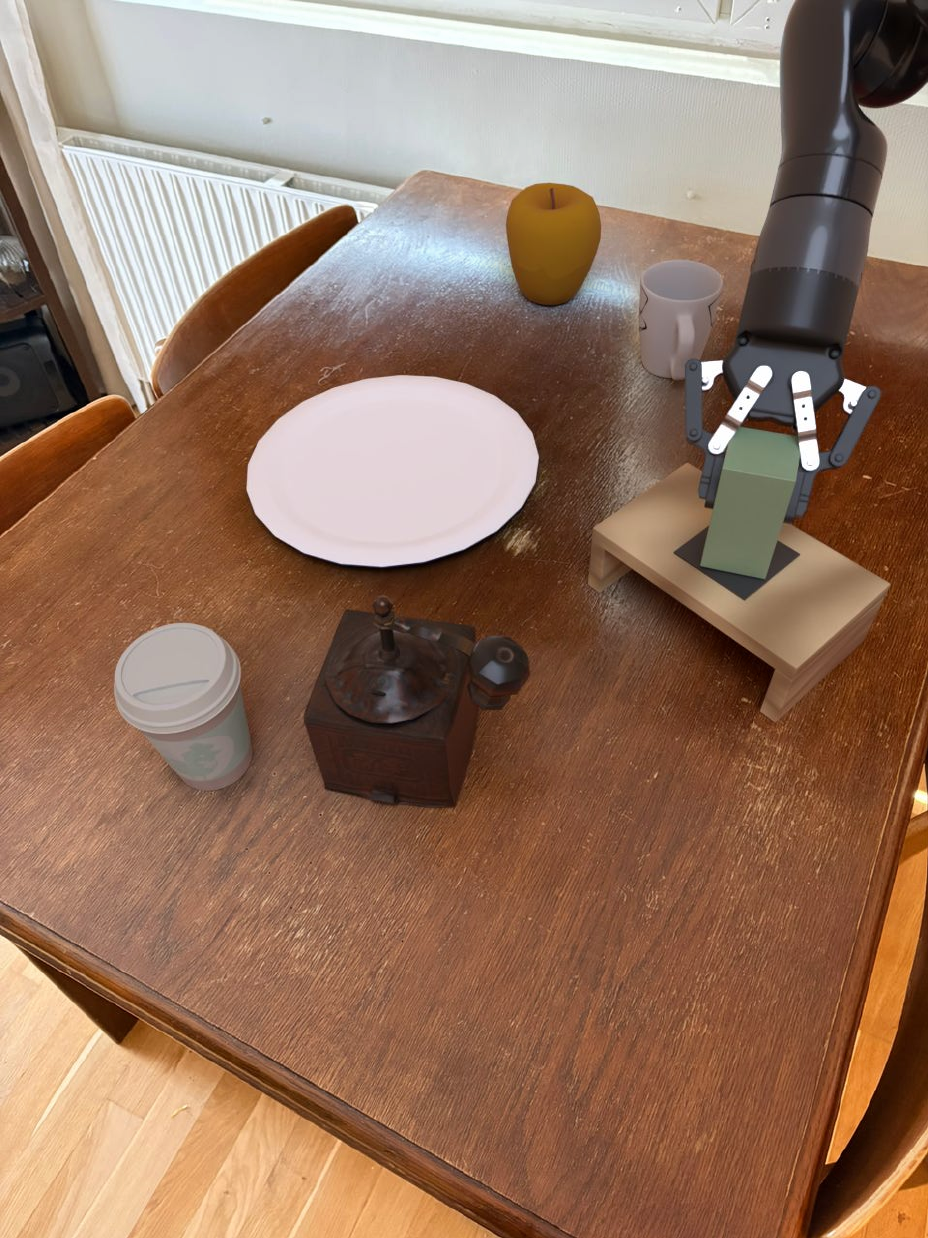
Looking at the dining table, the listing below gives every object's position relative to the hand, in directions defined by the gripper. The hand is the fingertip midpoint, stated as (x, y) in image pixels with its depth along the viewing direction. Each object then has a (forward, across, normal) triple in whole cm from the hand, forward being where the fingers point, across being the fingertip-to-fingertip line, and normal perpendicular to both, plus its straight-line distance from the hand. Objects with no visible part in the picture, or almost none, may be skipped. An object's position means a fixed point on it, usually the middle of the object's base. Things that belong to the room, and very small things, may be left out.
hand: (748, 514), depth 66 cm
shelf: (+8, 0, +10) cm, 13 cm away
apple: (-24, -28, +43) cm, 57 cm away
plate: (+2, -34, +17) cm, 38 cm away
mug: (-16, -10, +34) cm, 39 cm away
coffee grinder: (+22, -19, -4) cm, 30 cm away
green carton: (+3, 0, +5) cm, 6 cm away
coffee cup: (+26, -35, -8) cm, 44 cm away
